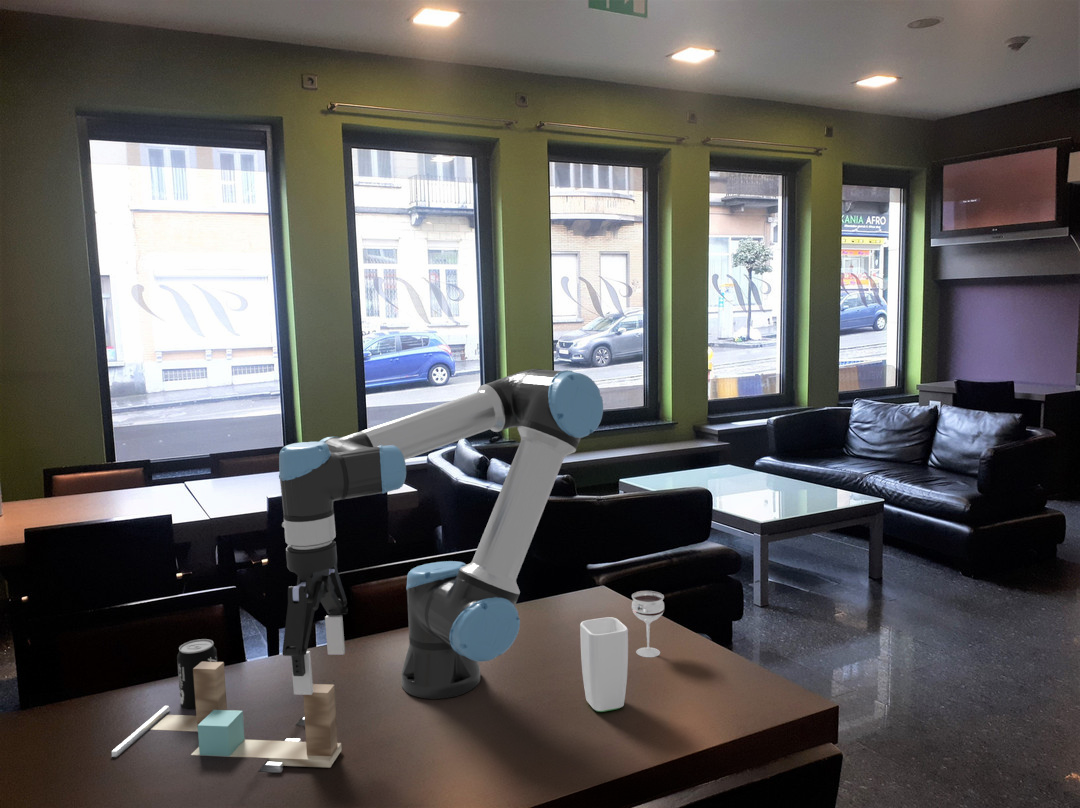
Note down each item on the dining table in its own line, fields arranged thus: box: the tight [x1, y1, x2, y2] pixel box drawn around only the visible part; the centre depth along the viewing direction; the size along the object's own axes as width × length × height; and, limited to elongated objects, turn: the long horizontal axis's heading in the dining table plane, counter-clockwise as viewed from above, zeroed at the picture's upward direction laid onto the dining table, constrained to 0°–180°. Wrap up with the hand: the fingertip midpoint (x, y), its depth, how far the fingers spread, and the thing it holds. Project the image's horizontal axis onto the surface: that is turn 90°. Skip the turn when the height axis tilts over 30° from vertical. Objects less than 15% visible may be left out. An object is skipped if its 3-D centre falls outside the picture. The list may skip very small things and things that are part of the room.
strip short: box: [149, 661, 228, 733], centre depth 135 cm, size 12×5×12 cm, turn 84°
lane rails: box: [111, 705, 305, 773], centre depth 131 cm, size 28×15×2 cm, turn 84°
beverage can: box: [176, 638, 218, 711], centre depth 143 cm, size 7×7×12 cm
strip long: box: [190, 683, 343, 769], centre depth 126 cm, size 23×5×12 cm, turn 84°
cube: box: [197, 709, 246, 757], centre depth 127 cm, size 5×5×5 cm
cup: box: [579, 616, 629, 713], centre depth 141 cm, size 7×7×15 cm
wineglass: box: [631, 590, 665, 658], centre depth 163 cm, size 7×7×12 cm
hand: (320, 672), depth 124 cm, fingers open, 13 cm apart
